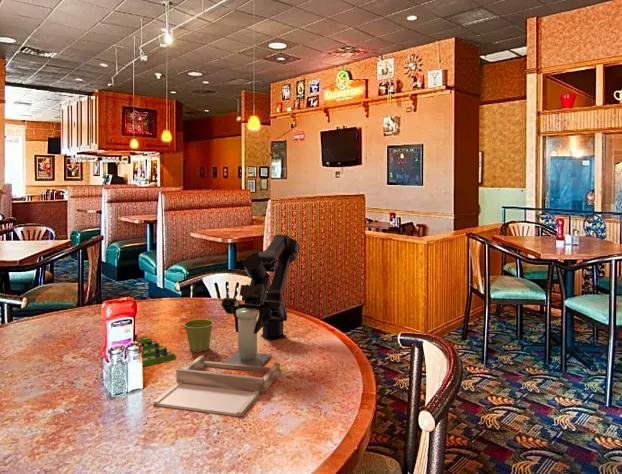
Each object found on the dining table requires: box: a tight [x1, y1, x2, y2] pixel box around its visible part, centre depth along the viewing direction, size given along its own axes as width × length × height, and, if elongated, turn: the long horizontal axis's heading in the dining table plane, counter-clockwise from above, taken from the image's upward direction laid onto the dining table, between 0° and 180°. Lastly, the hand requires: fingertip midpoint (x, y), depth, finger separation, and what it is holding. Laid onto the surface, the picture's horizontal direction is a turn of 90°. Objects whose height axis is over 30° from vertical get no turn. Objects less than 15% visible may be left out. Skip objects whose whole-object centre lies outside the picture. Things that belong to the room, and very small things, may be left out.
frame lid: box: [152, 381, 260, 418], centre depth 124 cm, size 12×23×1 cm, turn 76°
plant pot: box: [183, 318, 215, 353], centre depth 160 cm, size 9×9×9 cm
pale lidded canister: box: [236, 308, 259, 359], centre depth 149 cm, size 7×7×14 cm
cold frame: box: [175, 355, 282, 395], centre depth 138 cm, size 15×24×4 cm, turn 76°
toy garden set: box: [134, 334, 177, 367], centre depth 155 cm, size 23×19×5 cm
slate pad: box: [224, 351, 272, 367], centre depth 150 cm, size 11×11×1 cm
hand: (245, 332), depth 148 cm, fingers closed on pale lidded canister, 5 cm apart
